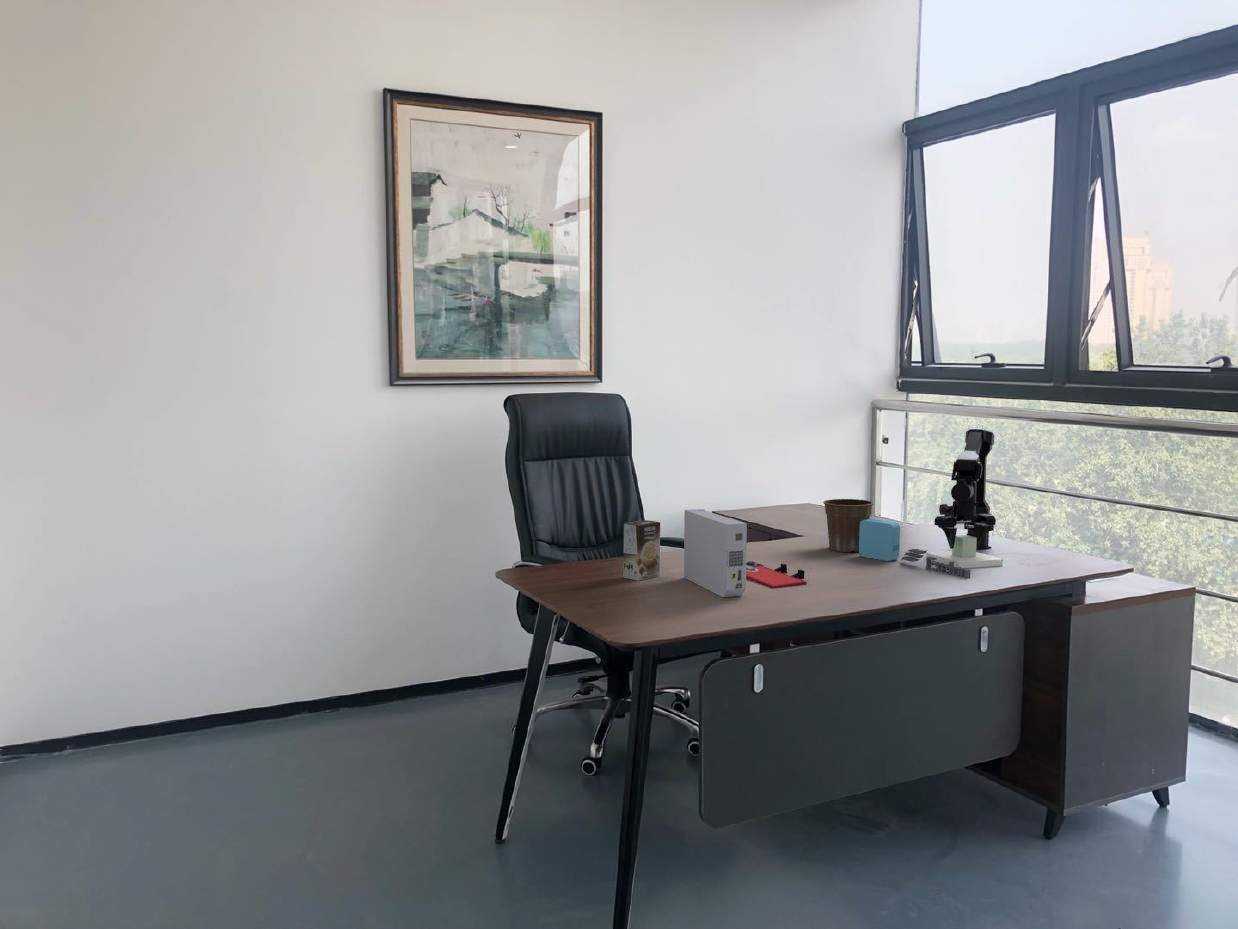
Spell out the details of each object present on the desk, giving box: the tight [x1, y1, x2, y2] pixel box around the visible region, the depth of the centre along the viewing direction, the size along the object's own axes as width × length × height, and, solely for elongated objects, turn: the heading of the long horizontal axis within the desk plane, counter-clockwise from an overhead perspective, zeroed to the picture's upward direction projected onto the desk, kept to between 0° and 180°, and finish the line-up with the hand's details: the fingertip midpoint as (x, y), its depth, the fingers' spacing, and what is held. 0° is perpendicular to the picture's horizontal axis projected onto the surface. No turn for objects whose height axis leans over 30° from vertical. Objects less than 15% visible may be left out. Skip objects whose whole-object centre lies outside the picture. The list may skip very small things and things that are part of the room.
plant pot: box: [822, 498, 874, 553], centre depth 309 cm, size 16×16×16 cm
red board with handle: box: [746, 560, 808, 589], centre depth 270 cm, size 30×3×15 cm
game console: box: [683, 508, 748, 598], centre depth 254 cm, size 6×27×20 cm, turn 20°
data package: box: [858, 518, 901, 562], centre depth 294 cm, size 12×4×12 cm, turn 43°
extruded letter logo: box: [900, 548, 971, 579], centre depth 277 cm, size 25×2×6 cm, turn 30°
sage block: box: [951, 534, 977, 558], centre depth 288 cm, size 5×5×6 cm
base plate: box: [925, 550, 1004, 569], centre depth 289 cm, size 16×16×2 cm
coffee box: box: [622, 519, 661, 582], centre depth 267 cm, size 9×6×16 cm
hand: (964, 547), depth 288 cm, fingers open, 9 cm apart
